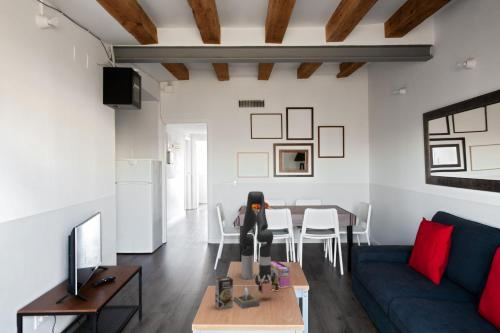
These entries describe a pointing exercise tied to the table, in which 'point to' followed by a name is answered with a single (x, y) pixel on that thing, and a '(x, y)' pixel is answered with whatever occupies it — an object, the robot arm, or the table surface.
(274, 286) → the ammunition clip
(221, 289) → the coffee box
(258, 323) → the table surface
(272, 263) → the gum box
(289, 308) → the table surface
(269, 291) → the collar
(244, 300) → the post stand
